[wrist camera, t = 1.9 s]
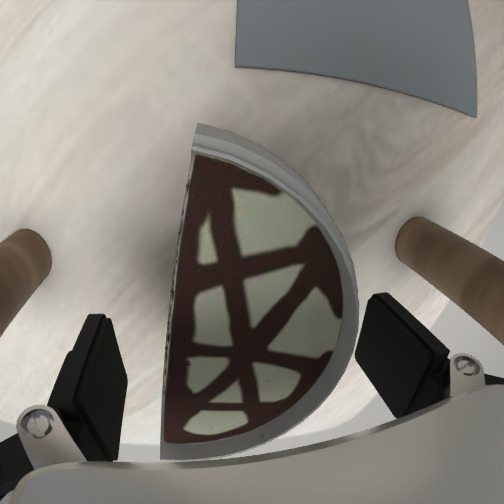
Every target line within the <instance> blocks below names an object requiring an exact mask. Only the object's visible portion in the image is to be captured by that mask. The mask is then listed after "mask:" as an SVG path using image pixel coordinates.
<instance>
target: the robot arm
mask: <svg viewBox="0 0 504 504" xmlns="http://www.w3.org/2000/svg"><path fill="white" fill-rule="evenodd" d="M449 352H450V350H449V349H448V348H446V346H445V345H444V344H443V343H442V342H440V341H439V340H438V339H437V338H436V337H435V336H434V335H433V334H432V333H431V332H430V331H429V330H428V329H427V328H426V327H425V326H424V325H423V324H422V323H421V322H419V321H418V320H417V319H416V318H415V317H414V316H413V315H412V314H411V313H410V312H409V311H408V310H406V309H405V308H404V307H403V306H402V305H401V304H400V303H399V302H398V301H397V300H395V299H394V298H393V297H392V296H391V295H390V294H389V293H387V292H385V293H378V294H373V295H372V297H371V298H370V299H369V300H368V303H367V307H366V311H365V315H364V320H363V324H362V328H361V332H360V336H359V339H358V343H357V347H356V351H355V359H356V361H357V363H358V364H359V366H360V367H361V368H362V370H363V371H364V373H365V374H366V376H367V377H368V379H369V380H370V381H371V383H372V384H373V386H374V387H375V389H376V390H377V392H378V393H379V395H380V396H381V397H382V399H383V400H384V402H385V403H386V405H387V406H388V408H389V409H390V411H391V412H392V414H393V415H394V417H395V418H397V419H396V420H393V421H390V422H388V423H385V424H382V425H379V426H376V427H373V428H370V429H367V430H364V431H360V432H357V433H354V434H350V435H347V436H343V437H340V438H337V439H332V440H329V441H325V442H321V443H317V444H312V445H308V446H303V447H299V448H294V449H289V450H283V451H278V452H272V453H266V454H260V455H253V456H246V457H238V458H229V459H219V460H207V461H190V462H159V463H158V462H157V463H155V462H154V463H153V462H151V463H149V462H148V463H147V462H145V463H144V462H113V460H115V461H116V460H117V459H118V453H119V444H120V435H121V427H122V419H123V411H124V404H125V398H126V391H127V384H128V380H127V374H126V371H125V368H124V365H123V361H122V358H121V354H120V351H119V347H118V344H117V340H116V336H115V332H114V328H113V324H112V321H111V319H110V318H106V316H105V314H89V315H88V316H87V318H86V320H85V323H84V325H83V327H82V329H81V331H80V334H79V336H78V338H77V340H76V343H75V345H74V347H73V350H72V351H69V352H68V354H67V356H66V358H65V360H64V363H63V365H62V367H61V370H60V372H59V375H58V377H57V380H56V382H55V385H54V388H53V390H52V393H51V396H50V398H49V401H48V404H47V406H45V405H34V406H31V407H29V408H27V409H26V410H24V411H23V412H22V413H21V414H20V416H19V418H18V420H17V425H16V428H17V432H18V433H17V434H15V435H13V436H11V437H10V438H8V439H6V440H4V441H2V442H0V504H504V378H500V377H496V376H492V375H487V374H484V371H483V367H482V364H481V363H480V362H479V361H478V360H477V359H476V358H475V357H473V356H471V355H468V354H464V353H459V354H456V355H453V356H452V357H451V359H450V360H449V359H448V358H447V357H448V354H449Z"/></svg>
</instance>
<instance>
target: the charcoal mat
mask: <svg viewBox="0 0 504 504" xmlns="http://www.w3.org/2000/svg"><path fill="white" fill-rule="evenodd" d="M235 67H243V68H260V69H273V70H284V71H293V72H301V73H309V74H316V75H322V76H328V77H334V78H340V79H345V80H350V81H355V82H360V83H365V84H369V85H374V86H378V87H382V88H386V89H390V90H394V91H397V92H401V93H404V94H408V95H411V96H415V97H418V98H421V99H424V100H428V101H431V102H434V103H437V104H440V105H442V106H445V107H448V108H451V109H453V110H456V111H459V112H461V113H464V114H466V115H469V116H471V117H476V118H477V74H476V58H475V47H474V37H473V30H472V22H471V16H470V10H469V5H468V0H237V21H236V45H235Z"/></svg>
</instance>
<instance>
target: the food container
mask: <svg viewBox="0 0 504 504" xmlns="http://www.w3.org/2000/svg"><path fill="white" fill-rule="evenodd" d="M178 234H179V235H178V241H177V249H176V256H175V263H174V271H173V279H172V288H171V297H170V306H169V315H168V323H167V324H168V325H167V336H166V347H165V359H164V373H163V389H162V409H161V441H160V460H166V461H198V460H208V459H214V458H221V457H226V456H230V455H234V454H237V453H241V452H245V451H247V450H250V449H253V448H256V447H258V446H261V445H263V444H266V443H267V442H270V441H272V440H274V439H276V438H277V437H279V436H281V435H283V434H285V433H286V432H288V431H289V430H291V429H292V428H294V427H295V426H297V425H298V424H300V423H301V422H303V421H304V420H305V419H306V418H307V417H308V416H309V415H311V414H312V413H313V412H314V411H315V410H316V409H317V408H318V407H319V406H320V405H321V404H322V403H323V402H324V401H325V399H326V398H327V397H328V396H329V395H330V394H331V392H332V391H333V390H334V388H335V387H336V385H337V383H338V382H339V380H340V379H341V377H342V375H343V374H344V372H345V370H346V367H347V365H348V363H349V360H350V358H351V356H352V353H353V350H354V346H355V341H356V337H357V333H358V324H359V300H358V289H357V283H356V277H355V271H354V265H353V262H352V259H351V256H350V254H349V251H348V249H347V246H346V243H345V241H344V238H343V236H342V234H341V233H340V231H339V229H338V228H337V226H336V224H335V223H334V221H333V219H332V218H331V216H330V214H329V213H328V211H327V210H326V208H325V207H324V205H323V204H322V202H321V201H320V199H319V198H318V196H317V195H316V193H315V192H314V190H313V189H312V188H311V187H310V186H309V185H308V184H307V183H306V182H305V181H304V180H303V179H302V178H301V177H300V176H299V175H298V174H297V172H296V171H295V170H294V169H293V168H292V167H290V166H289V165H288V164H286V163H285V162H284V161H282V160H281V159H279V158H278V157H277V156H275V155H274V154H272V153H271V152H270V151H268V150H267V149H265V148H264V147H262V146H260V145H258V144H256V143H254V142H252V141H250V140H247V139H245V138H243V137H241V136H239V135H237V134H234V133H232V132H230V131H226V130H223V129H219V128H215V127H211V126H208V125H204V124H200V123H198V124H197V128H196V132H195V136H194V141H193V145H192V149H191V164H190V169H189V175H188V180H187V185H186V191H185V197H184V203H183V209H182V215H181V221H180V228H179V233H178Z"/></svg>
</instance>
